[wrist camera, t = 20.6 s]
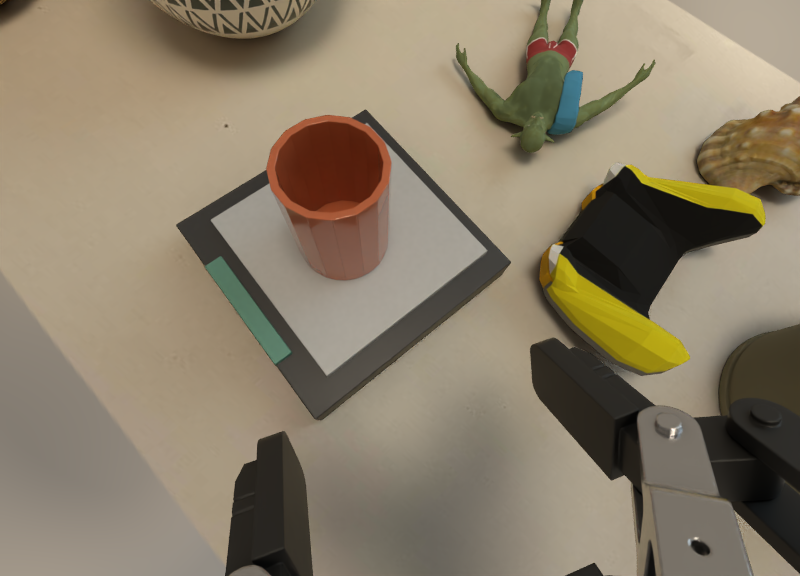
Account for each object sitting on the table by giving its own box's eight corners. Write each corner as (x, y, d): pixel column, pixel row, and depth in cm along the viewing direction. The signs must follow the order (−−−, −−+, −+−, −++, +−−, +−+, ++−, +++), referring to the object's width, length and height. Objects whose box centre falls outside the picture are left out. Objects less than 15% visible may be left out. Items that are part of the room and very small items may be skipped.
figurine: (666, -21, 34) (654, 146, 28) (646, 25, 38) (631, 183, 31) (478, -30, 37) (427, 117, 31) (475, 14, 41) (430, 154, 35)
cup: (334, 298, 26) (314, 243, 18) (281, 232, 27) (243, 155, 19) (406, 246, 27) (415, 174, 19) (353, 185, 28) (342, 96, 21)
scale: (320, 420, 26) (313, 419, 23) (191, 240, 30) (171, 220, 27) (501, 274, 30) (514, 258, 27) (366, 130, 34) (365, 102, 31)
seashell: (692, 137, 39) (823, 38, 31) (755, 200, 38) (902, 114, 31) (683, 164, 32) (844, 47, 25) (758, 239, 32) (944, 143, 25)
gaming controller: (720, 238, 32) (607, 166, 33) (786, 201, 26) (649, 118, 28) (627, 395, 27) (504, 303, 29) (685, 387, 22) (530, 276, 24)
